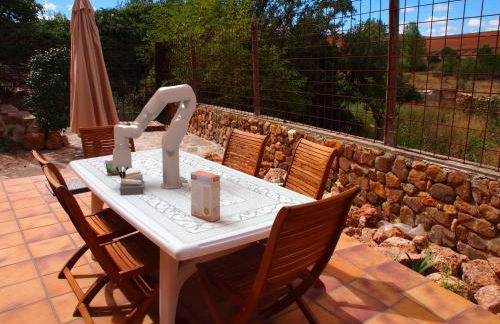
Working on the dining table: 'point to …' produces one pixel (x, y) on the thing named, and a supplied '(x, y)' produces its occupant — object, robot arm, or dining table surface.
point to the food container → (111, 169)
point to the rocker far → (132, 173)
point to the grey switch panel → (131, 187)
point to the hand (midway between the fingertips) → (122, 178)
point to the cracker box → (205, 195)
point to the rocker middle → (133, 176)
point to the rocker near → (131, 181)
